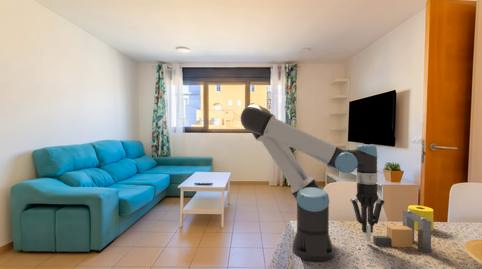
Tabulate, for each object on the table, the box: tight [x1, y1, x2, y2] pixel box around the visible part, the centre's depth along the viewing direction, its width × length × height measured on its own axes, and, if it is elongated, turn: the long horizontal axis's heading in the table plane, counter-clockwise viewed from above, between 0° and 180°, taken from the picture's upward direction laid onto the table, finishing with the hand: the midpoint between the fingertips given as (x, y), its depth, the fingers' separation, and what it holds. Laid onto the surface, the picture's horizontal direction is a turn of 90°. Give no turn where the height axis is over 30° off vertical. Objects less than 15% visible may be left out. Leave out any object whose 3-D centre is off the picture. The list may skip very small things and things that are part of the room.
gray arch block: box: [402, 209, 432, 254], centre depth 103 cm, size 3×13×12 cm, turn 177°
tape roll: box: [407, 204, 434, 232], centre depth 122 cm, size 10×10×9 cm
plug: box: [372, 225, 414, 248], centre depth 103 cm, size 14×4×7 cm, turn 87°
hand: (367, 240), depth 104 cm, fingers closed
